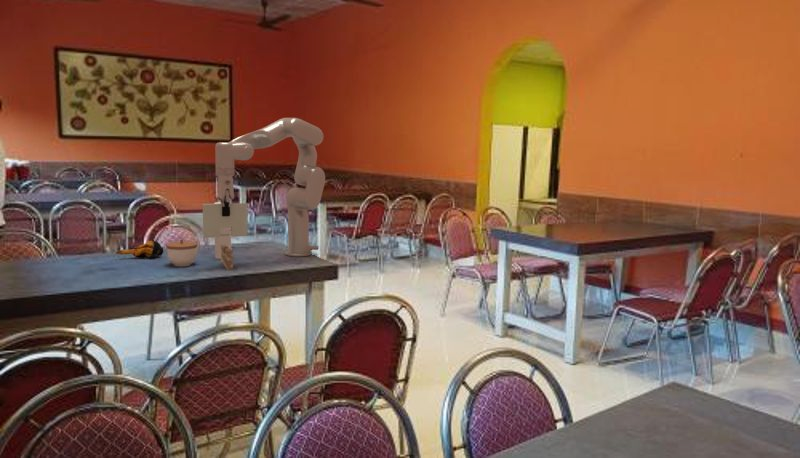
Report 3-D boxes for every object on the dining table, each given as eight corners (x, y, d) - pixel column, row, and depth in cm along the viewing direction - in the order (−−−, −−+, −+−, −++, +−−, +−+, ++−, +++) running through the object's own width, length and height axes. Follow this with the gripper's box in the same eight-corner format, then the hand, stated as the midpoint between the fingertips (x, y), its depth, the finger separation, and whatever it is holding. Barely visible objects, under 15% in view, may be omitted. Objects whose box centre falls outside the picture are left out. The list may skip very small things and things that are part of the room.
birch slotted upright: (226, 262, 269) (225, 244, 268) (233, 269, 256) (232, 250, 255) (221, 262, 268) (221, 244, 267) (228, 270, 255) (227, 251, 254)
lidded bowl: (187, 268, 256) (187, 242, 254) (160, 266, 258) (159, 241, 256) (203, 262, 268) (202, 237, 266) (177, 260, 270) (176, 236, 269)
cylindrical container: (233, 256, 283) (232, 202, 279) (227, 259, 276) (226, 204, 272) (218, 255, 284) (217, 201, 280) (212, 258, 277) (211, 203, 273)
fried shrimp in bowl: (167, 248, 273) (126, 239, 262) (158, 268, 276) (117, 260, 265) (164, 238, 280) (124, 228, 269) (154, 257, 283) (114, 249, 272)
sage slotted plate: (246, 235, 265) (246, 203, 263) (247, 236, 263) (247, 203, 261) (203, 237, 257) (202, 204, 255) (203, 237, 255) (203, 204, 253)
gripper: (238, 173, 250) (238, 218, 253) (230, 171, 264) (230, 213, 267) (219, 173, 247) (219, 218, 250) (212, 170, 261) (213, 213, 264)
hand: (225, 215), depth 258 cm, fingers closed on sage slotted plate, 2 cm apart
